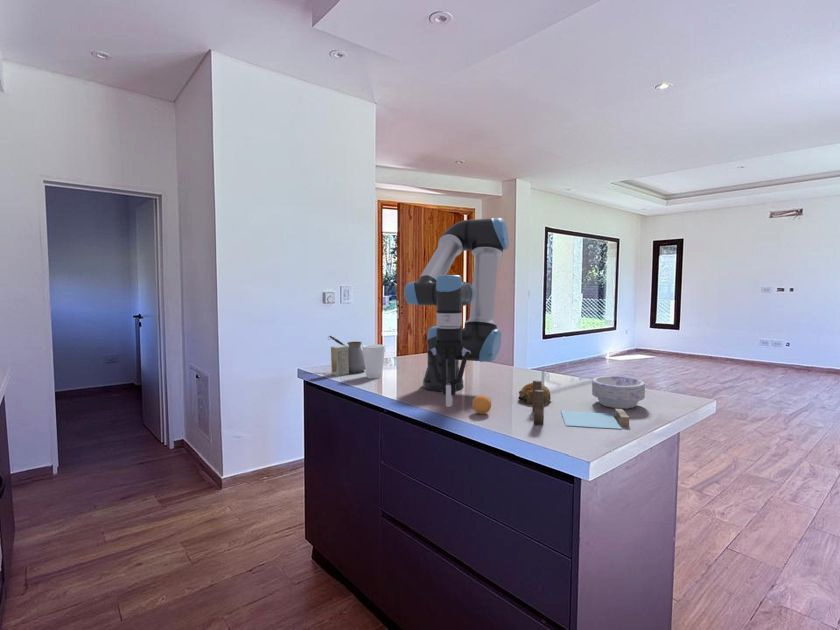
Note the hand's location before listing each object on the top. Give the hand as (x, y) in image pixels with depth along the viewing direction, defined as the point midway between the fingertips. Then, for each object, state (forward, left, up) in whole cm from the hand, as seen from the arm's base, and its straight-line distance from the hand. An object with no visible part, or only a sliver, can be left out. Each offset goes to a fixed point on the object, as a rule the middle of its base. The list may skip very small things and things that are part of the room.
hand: (449, 405), depth 134 cm
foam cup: (-44, -38, -2) cm, 58 cm away
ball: (0, +10, +1) cm, 10 cm away
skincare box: (-46, -54, -2) cm, 71 cm away
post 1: (-6, +26, -2) cm, 27 cm away
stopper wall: (0, +48, -2) cm, 48 cm away
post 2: (+6, +26, -2) cm, 27 cm away
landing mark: (0, +40, -2) cm, 40 cm away
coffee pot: (-56, -55, -2) cm, 79 cm away
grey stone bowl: (-18, +51, -2) cm, 54 cm away
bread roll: (-18, +25, -2) cm, 31 cm away
